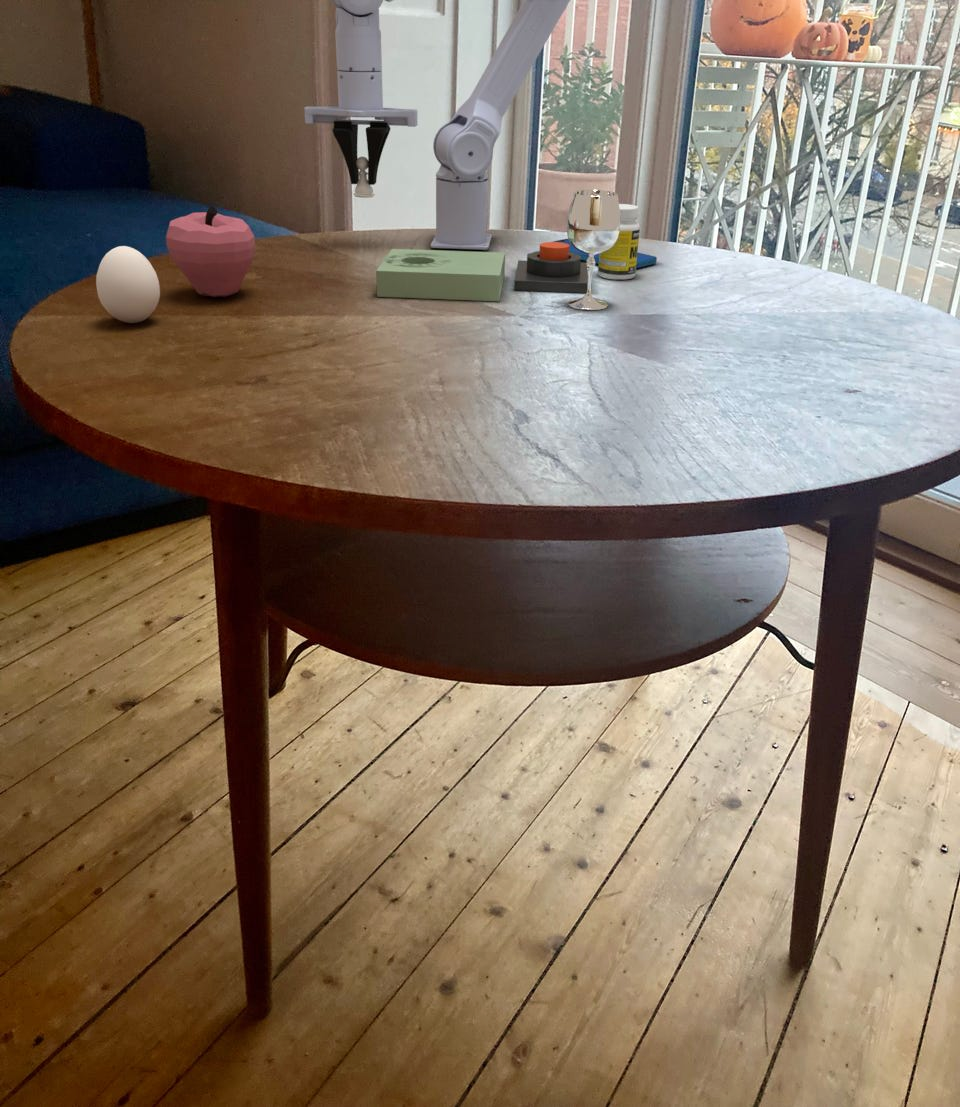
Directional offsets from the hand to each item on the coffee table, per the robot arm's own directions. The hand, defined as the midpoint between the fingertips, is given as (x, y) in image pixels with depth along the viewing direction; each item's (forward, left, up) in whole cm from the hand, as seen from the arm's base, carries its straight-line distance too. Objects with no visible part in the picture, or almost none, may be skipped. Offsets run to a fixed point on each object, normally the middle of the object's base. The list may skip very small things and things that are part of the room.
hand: (363, 183), depth 133 cm
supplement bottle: (+12, +34, -9) cm, 37 cm away
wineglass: (+27, +30, -9) cm, 41 cm away
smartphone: (+2, +32, -8) cm, 33 cm away
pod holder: (+21, +13, -8) cm, 26 cm away
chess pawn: (0, 0, -2) cm, 2 cm away
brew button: (+16, +26, -6) cm, 31 cm away
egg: (+41, -17, -9) cm, 45 cm away
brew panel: (+16, +26, -8) cm, 31 cm away
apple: (+29, -12, -9) cm, 32 cm away
